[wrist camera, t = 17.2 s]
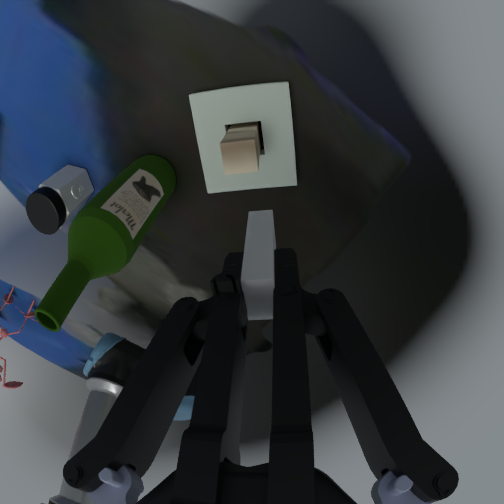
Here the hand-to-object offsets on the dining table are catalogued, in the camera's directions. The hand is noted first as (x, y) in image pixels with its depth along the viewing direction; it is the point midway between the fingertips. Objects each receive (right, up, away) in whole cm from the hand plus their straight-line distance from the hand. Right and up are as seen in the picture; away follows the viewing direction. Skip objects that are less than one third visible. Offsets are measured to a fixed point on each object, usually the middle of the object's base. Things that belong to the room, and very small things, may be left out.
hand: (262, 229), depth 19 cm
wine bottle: (-18, +11, +28) cm, 35 cm away
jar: (-35, +12, +29) cm, 47 cm away
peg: (-2, +17, +23) cm, 29 cm away
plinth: (-2, +17, +23) cm, 29 cm away
